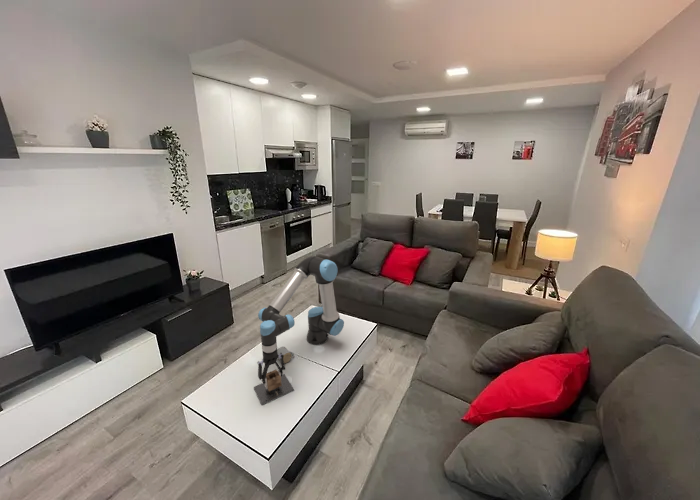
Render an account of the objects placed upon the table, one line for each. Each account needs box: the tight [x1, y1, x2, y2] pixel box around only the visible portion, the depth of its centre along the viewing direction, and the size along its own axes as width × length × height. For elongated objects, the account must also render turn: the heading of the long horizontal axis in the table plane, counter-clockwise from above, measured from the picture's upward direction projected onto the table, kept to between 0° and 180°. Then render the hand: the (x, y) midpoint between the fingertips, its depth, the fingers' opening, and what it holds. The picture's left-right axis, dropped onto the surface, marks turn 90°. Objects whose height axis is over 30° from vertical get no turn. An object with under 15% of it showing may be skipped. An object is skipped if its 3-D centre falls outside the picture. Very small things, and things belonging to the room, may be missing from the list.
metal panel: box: [253, 373, 295, 406], centre depth 159 cm, size 18×14×5 cm
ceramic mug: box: [277, 346, 295, 364], centre depth 182 cm, size 11×8×8 cm
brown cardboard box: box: [266, 369, 282, 391], centre depth 158 cm, size 7×7×6 cm
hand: (273, 384), depth 158 cm, fingers closed on brown cardboard box, 7 cm apart
